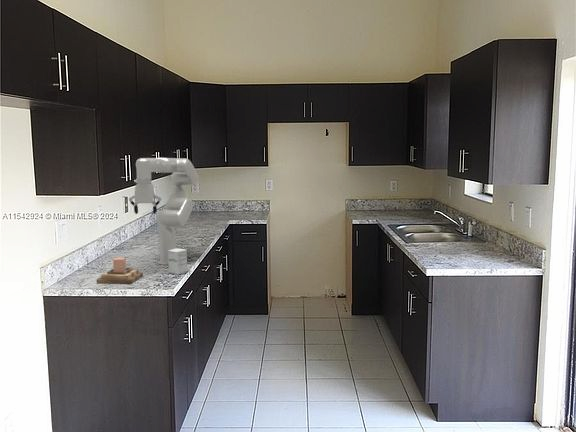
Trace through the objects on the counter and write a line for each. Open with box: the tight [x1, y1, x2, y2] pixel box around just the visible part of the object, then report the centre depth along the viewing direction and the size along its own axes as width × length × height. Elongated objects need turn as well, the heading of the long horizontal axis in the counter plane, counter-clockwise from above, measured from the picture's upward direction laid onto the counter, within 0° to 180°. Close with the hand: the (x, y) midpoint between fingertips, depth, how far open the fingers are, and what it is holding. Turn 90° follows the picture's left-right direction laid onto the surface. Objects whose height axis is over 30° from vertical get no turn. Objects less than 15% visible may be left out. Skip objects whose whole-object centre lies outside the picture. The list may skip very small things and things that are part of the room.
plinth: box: [96, 267, 144, 285], centre depth 274 cm, size 16×18×5 cm
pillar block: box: [112, 256, 127, 272], centre depth 273 cm, size 5×5×7 cm
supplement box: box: [168, 247, 188, 275], centre depth 288 cm, size 7×7×13 cm
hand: (145, 213), depth 286 cm, fingers open, 9 cm apart
